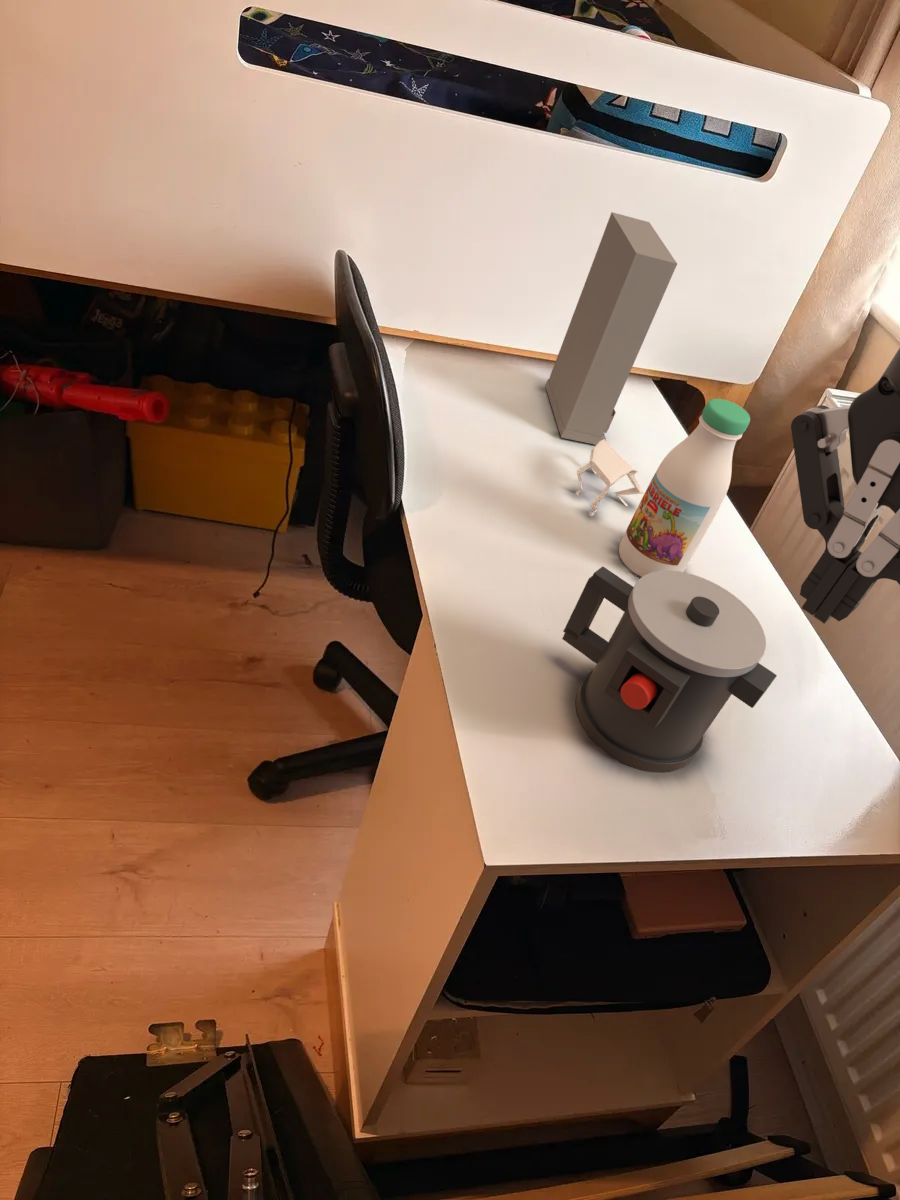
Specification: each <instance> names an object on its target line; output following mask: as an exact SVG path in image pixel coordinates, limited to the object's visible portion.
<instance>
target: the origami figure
mask: <svg viewBox="0 0 900 1200" xmlns="http://www.w3.org/2000/svg"><path fill="white" fill-rule="evenodd" d="M588 469H591V470H592V472H593V473H594V474H595V475H597V476H599V478H600V479H601V480H602V482H603V483H604V485H606V487H605V488H604V489H603V490H602V491H601V493H600V494H599V495H598V496H597V497H596V498H595V499H594V500H592V502H590V504H589V505H590V507H592V508H593V509H592V510H591V511H589V513H588V515H589V517H593V516H595V514H596V512H597V511H598V506H597V505H599V503H600V502H601V501H602V500H603V499H604V497H605V496H606V494H607V493H608V492H609V490H610V489H611V488H612V487H613V486H614V485H615V484H616V483H617V482H618V481H619V480H620V479H622V478H623V477H625V476H626V477H627V478H628V479H629V481H630V482H631V485H632V486H633V487H631V488H627V489H622V490H619V491H614V494H615V496H616V497H617V498H618V500H619V501H620V502H621V503H622V504H623V505H624V506H625V507H629V505H628V504H627V503H626V501H625V500H624V499H623V497H621V496H629V495H640V494H644V491H643V489H642V487H641V486H640V484H639V481H638V480H637V477H636V476H635V474H637V473H638V472H639V471H638V470H637V469H636V468H634V467H633V466H631V464H630V463H628V462H627V461H626V459H624V458H623V457H622V456H621V455H620V454H619V453H618V452H617V451H616V450H615V449H614V448H613V447H612V446H611V445H610V444H609V443H608V442H607V441H606V440H605V439H603V440H601V441H599V442H598V443H597V444H596V445H594V447H592V449H591V451H590V456H589V462H588V463H587V464H586V465H585V466H583V467H582V468H579V469H578V470H576V475H577V480H578V484H579V488H578V490H577V491H576V492H575V495H576V496H579V494H580V493H581V492H582V490H583V489H584V488H583V482H582V473H584V472H585V471H586V470H588Z"/></svg>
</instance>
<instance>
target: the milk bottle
mask: <svg viewBox="0 0 900 1200" xmlns="http://www.w3.org/2000/svg"><path fill="white" fill-rule="evenodd" d="M698 421H699V423H698V424H697V426H696V427H695V429H694V430H693V431H692V432H691V433H690V434H688V436H686V438H684V440H682V441H681V442H679V443H678V444H676V445H675V446H674V447H673V448H672V449H671V450H670V451H669V452H668V453H667V454H666V455H665V456H664V458H663V459H662V460H661V463H660V464H659V465H658V467H657V469H656V471H655V472H654V474H653V476H652V478H651V480H650V482H649V484H648V486H647V488H646V490H645V492H644V493H643V496H642V498H641V499H640V502H639V504H638V506H637V508H636V509H635V512H634V514H633V516H632V518H631V520H630V521H629V524H628V526H627V527H626V530H625V532H624V534H623V536H622V538H621V540H620V543H619V545H618V553H619V558H620V560H621V561H622V563H623V564H624V565H625V566H626V567H627V569H629V570H630V571H631V572H633V573H634V574H636V575H638V576H639V577H640V578H641V577H643V576H644V575H646V574H649V573H651V572H655V571H663V570H671V571H680V572H685V570H686V568H687V567H688V565H689V563H690V562H691V560H692V558H693V556H694V555H695V553H696V551H697V550H698V547H699V546H700V544H701V542H702V541H703V539H704V537H705V535H706V533H707V532H708V529H710V526H711V525H712V524H713V523H712V522H713V521H714V519H715V517H716V515H717V513H718V512H719V510H720V508H721V506H722V504H723V502H724V500H725V499H726V496H727V493H728V490H729V488H730V485H731V479H732V469H733V455H734V450H735V448H736V447H735V446H736V444H737V441H738V440H740V439H742V438H743V435H744V433H745V432H746V430H747V429H748V427H749V425H750V422H751V415H750V414H749V413H748V411H747V410H746V409H745V408H743V407H742V406H740V405H739V404H737V403H735V402H732V401H730V400H727V399H723V398H711V399H709V400H708V401H707V402H706V404H705V406H704V408H703V409H702V412H701V415H700V416H699V417H698Z"/></svg>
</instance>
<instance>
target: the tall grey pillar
mask: <svg viewBox="0 0 900 1200" xmlns="http://www.w3.org/2000/svg"><path fill="white" fill-rule="evenodd" d="M591 263H592V264H591V266H590V269H589V271H588V274H587V276H586V279H585V282H584V285H583V287H582V291H581V293H580V294H579V298H578V301H577V303H576V306H575V309H574V312H573V314H572V316H571V320H570V322H569V324H568V328H567V330H566V332H565V336H564V338H563V341H562V342H561V343H562V344H561V345H560V348H559V352H558V354H557V357H556V360H555V362H554V364H553V367H552V371H551V373H550V375H549V378H547V381H546V382H545V383H546V384H545V385H544V387H545V390H546V393H547V396H548V399H549V403H550V406H551V408H552V412H553V415H554V418H555V421H556V425H557V429H558V431H559V434H560V438H562V439H566V440H572V441H576V442H581V443H586V444H591V445H594V446H596V444H597V443H598V442H599V441H601V440H603V439H605V441H606V440H607V438H606V435H605V434H607V433H608V431H609V429H610V426H611V424H612V422H613V419H614V418H615V416H616V413H617V412H616V410H615V407H616V405H617V403H618V401H619V398H620V396H621V394H622V392H623V390H624V387H625V384H626V382H627V380H628V379H629V375H630V373H631V371H632V368H633V366H634V364H635V361H636V359H637V357H638V355H639V352H640V350H641V348H642V346H643V344H644V341H645V339H646V336H647V334H648V332H649V330H650V328H651V325H652V323H653V321H654V319H655V316H656V314H657V311H658V309H659V307H660V305H661V303H662V300H663V298H664V296H665V293H666V291H667V289H668V286H669V284H670V282H671V279H672V277H673V276H674V272H675V270H676V268H677V265H678V262H677V260H676V259H675V258H674V256H673V255H672V253H671V252H670V251H669V249H668V248H667V246H666V245H665V243H664V241H663V240H662V239H661V237H660V236H659V234H658V233H657V231H656V230H655V228H654V227H653V225H652V224H651V222H650V221H646V220H643V219H639V218H635V217H631V216H629V215H625V214H621V213H616V212H613V211H611V213H610V214H609V217H608V220H607V223H606V226H605V229H604V231H603V233H602V237H601V239H600V242H599V245H598V248H597V250H596V252H595V255H594V258H593V261H592V262H591Z"/></svg>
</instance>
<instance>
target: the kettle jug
mask: <svg viewBox="0 0 900 1200" xmlns="http://www.w3.org/2000/svg"><path fill="white" fill-rule="evenodd" d="M604 599H605V600H607V601H608V602H610V603H611V604H612V605H614V606H615V607H616V608H618V609H619V610H621V611H623V614H622V616H621V618H620V619H619V622H618V623H617V625H616V628H615V629H614V631H613V633H612V634H611V637H610V639H609V641H607V640H606V639H605V638H603V637H602V636H600V635H599V634H597V633H596V632H595V631H593V630H592V629H591V628H590V627H591V625H592V623H593V621H594V619H595V617H596V615H597V613H598V612H599V609H600V607H601V605H602V603H603V601H604ZM563 633H564V634H563V636H562V638H561V640H563V642H566V643H567V644H569V646H571V647H572V648H574V649H575V650H576V651H578V652H579V653H581V654H582V655H583V656H585V657H586V658H588V659H589V660H590V661H592V662H593V663H595V664H596V665H595V667H594V669H593V670H591V671H590V672H588V673H587V675H586V676H584V679H583V680H582V682H581V683H580V685H579V688H578V690H577V693H576V697H575V709H576V714H577V717H578V720H579V722H580V724H581V726H582V728H583V729H584V731H585V732H586V734H587V735H588V737H589V738H590V739H591V741H593V742H594V743H595V744H596V745H597V746H598V747H599V748H600V749H601V750H603V752H605V753H606V754H608V755H609V756H610V757H612V758H613V759H615V760H617V761H618V762H621V763H623V764H625V765H627V766H629V767H631V768H634V769H638V770H642V771H645V772H650V773H651V772H653V773H669V772H674V771H678V770H680V769H682V768H684V767H685V766H687V765H689V764H690V763H691V762H692V761H693V759H694V758H695V756H697V754H698V752H699V751H700V749H701V747H702V745H703V742H704V735H705V734H706V732H707V731H708V729H709V728H710V726H711V725H712V724H713V722H714V721H715V720H716V718H717V716H718V715H719V714H720V712H721V710H722V709H723V708H724V706H725V705H726V704H727V702H728V700H729V699H730V698H731V696H734V697H735V698H737V699H738V700H740V701H741V702H743V704H745V705H747V706H748V707H750V708H751V709H753V708H754V707H755V706H756V705H757V704H758V702H759V701H760V699H761V698H762V697H763V696H764V695H765V693H766V692H767V690H768V689H769V687H770V686H771V684H772V683H773V682H774V681H775V680H776V678H777V674H776V673H774V672H773V671H772V670H770V669H768V667H766V666H764V665H762V664H761V663H759V662H760V661H761V660H762V658H763V656H764V655H765V653H766V648H767V641H766V640H767V639H766V634H765V632H764V629H763V627H762V624H761V623H760V621H759V620H758V618H757V616H756V615H755V614H754V613H753V612H752V610H750V608H749V607H748V606H747V605H746V604H745V603H744V602H743V601H742V600H741V599H739V597H737V596H736V595H735V594H733V593H731V592H730V591H729V590H727V589H726V588H724V587H722V586H721V585H719V584H716V583H715V582H713V581H711V580H709V579H706V578H704V577H701V576H699V575H695V574H693V573H688V572H685V571H684V572H680V571H671V570H663V571H655V572H651V573H649V574H646V575H644V576H643V577H641V576H640V578H639V579H638V580H637V581H636V582H635V584H634V586H633V585H632V584H630V583H628V582H627V581H626V580H624V579H623V578H621V577H620V576H618V575H617V574H615V573H614V572H613V571H611V570H609V569H608V568H607V567H605V566H601V567H600V568H598V569H597V570H596V571H594V572H593V574H592V575H591V576H590V577H589V578H588V580H587V581H586V583H585V585H584V587H583V590H582V592H581V594H580V595H579V597H578V600H577V601H576V604H575V606H574V608H573V610H572V612H571V614H570V617H569V619H568V621H567V623H566V625H565V627H564V629H563ZM635 674H644V675H647V676H648V677H649V678H651V679H652V680H653V681H654V683H655V685H656V688H657V693H656V696H655V698H654V699H653V700H652V701H651V702H650V703H649V704H648V705H647V706H646V707H645V708H643V709H634V708H631V707H629V706H628V705H627V704H626V703H625V702H624V701H623V699H622V697H621V687H622V686H623V685H624V684H625V683H626V682H627V681H628V680H629V679H630V678H631V677H632V676H633V675H635Z"/></svg>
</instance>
